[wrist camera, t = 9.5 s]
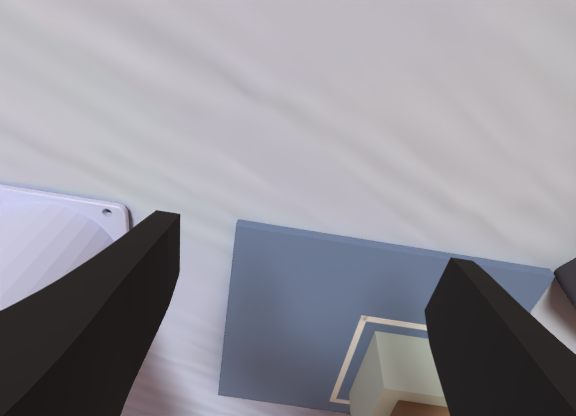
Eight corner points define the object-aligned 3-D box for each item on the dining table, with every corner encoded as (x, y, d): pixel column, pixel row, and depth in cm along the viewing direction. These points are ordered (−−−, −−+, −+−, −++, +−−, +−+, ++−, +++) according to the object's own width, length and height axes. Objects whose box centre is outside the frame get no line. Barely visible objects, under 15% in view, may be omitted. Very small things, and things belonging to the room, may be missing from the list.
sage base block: (348, 393, 29) (353, 451, 26) (375, 330, 26) (384, 388, 22) (441, 407, 30) (457, 465, 26) (480, 346, 26) (505, 406, 23)
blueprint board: (219, 387, 31) (217, 395, 30) (237, 219, 22) (235, 226, 22) (446, 419, 32) (448, 428, 31) (549, 269, 23) (555, 277, 22)
